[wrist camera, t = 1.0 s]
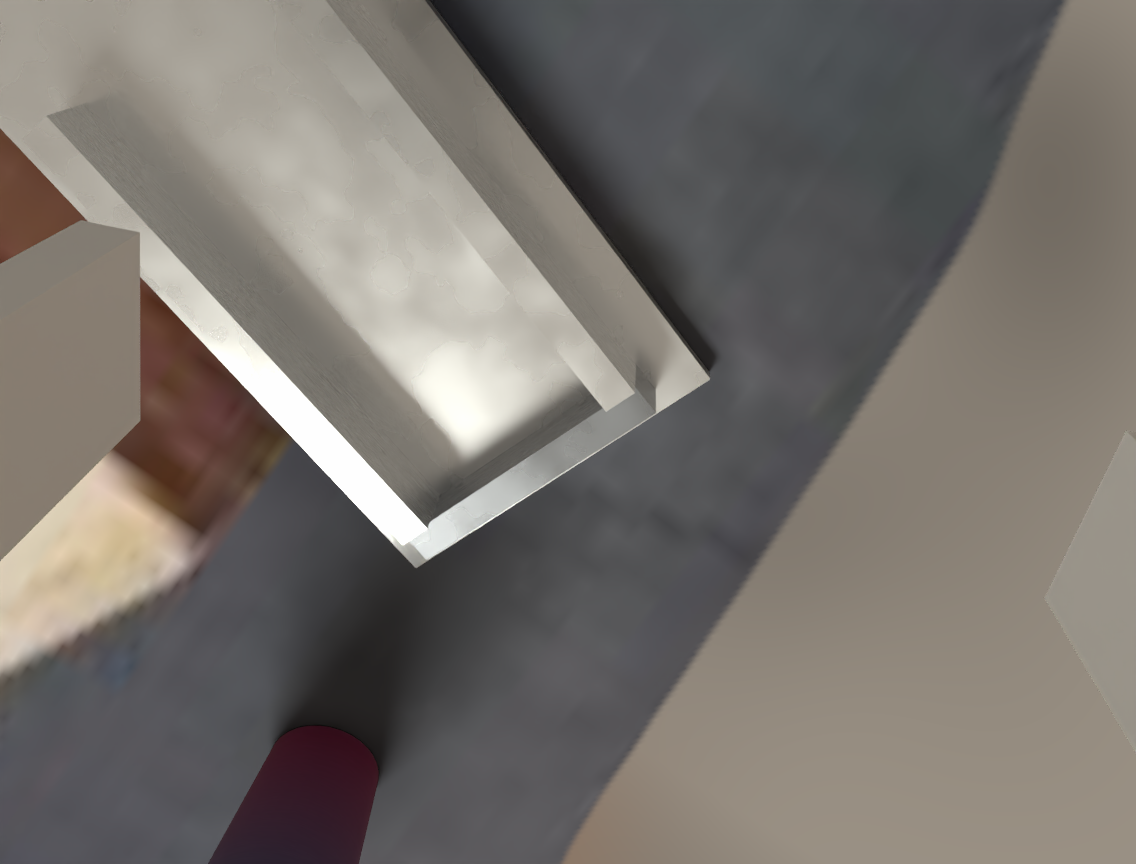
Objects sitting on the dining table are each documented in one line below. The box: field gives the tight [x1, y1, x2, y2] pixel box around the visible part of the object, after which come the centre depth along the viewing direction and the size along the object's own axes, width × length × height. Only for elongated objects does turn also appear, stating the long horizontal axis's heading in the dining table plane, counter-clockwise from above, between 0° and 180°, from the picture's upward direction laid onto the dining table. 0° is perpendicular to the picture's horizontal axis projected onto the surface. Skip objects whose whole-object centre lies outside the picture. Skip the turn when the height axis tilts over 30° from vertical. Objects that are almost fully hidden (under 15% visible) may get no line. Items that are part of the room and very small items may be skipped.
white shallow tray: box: [0, 0, 710, 568], centre depth 34 cm, size 24×14×3 cm, turn 37°
